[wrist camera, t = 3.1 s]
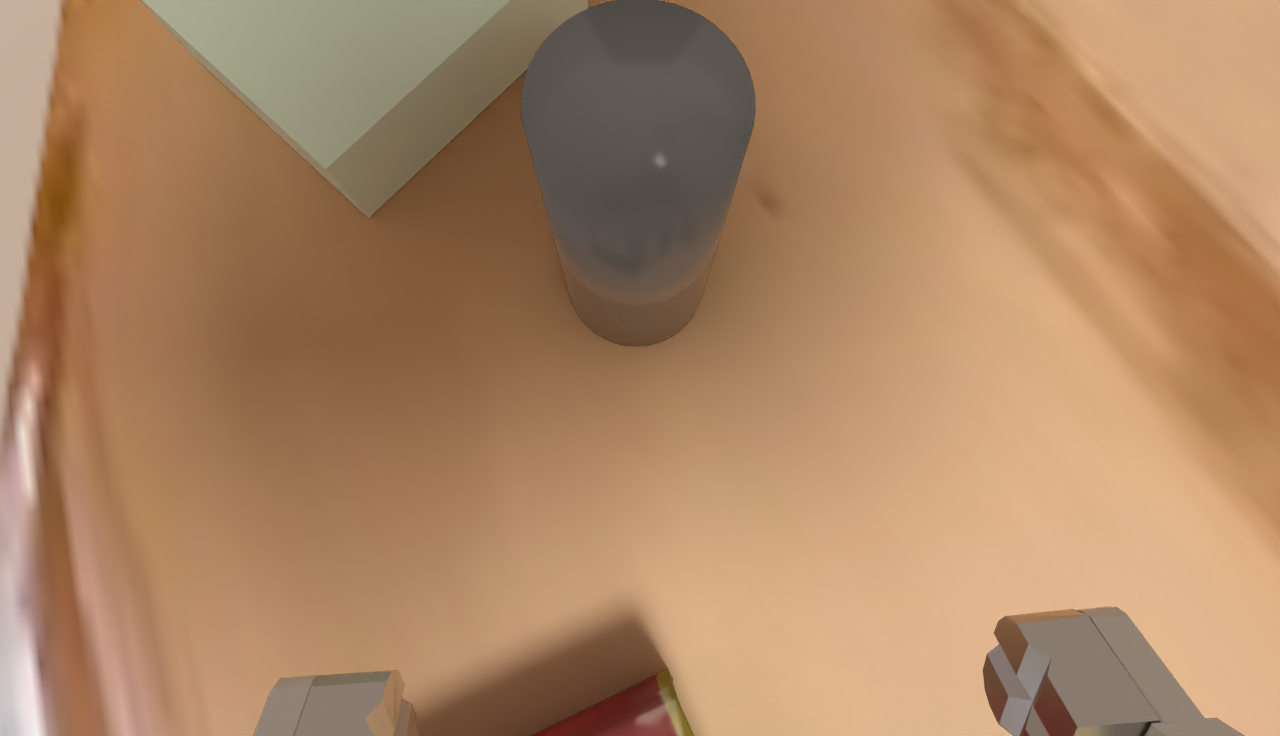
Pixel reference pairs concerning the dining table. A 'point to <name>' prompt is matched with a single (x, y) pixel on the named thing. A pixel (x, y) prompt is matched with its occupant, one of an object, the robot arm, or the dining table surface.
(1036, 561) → the dining table surface
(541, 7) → the block
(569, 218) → the slate jar
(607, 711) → the hardcover book
